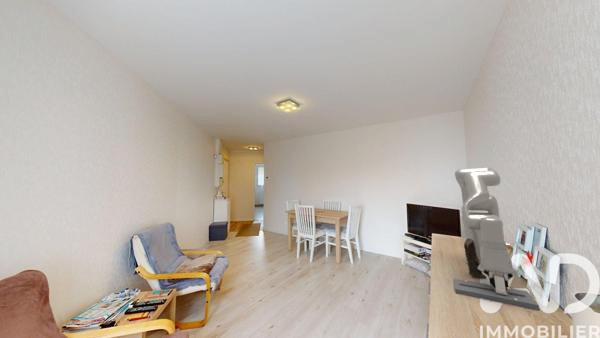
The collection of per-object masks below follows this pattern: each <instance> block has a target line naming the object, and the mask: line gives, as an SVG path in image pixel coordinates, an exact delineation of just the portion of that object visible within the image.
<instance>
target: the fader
mask: <svg viewBox="0 0 600 338" xmlns="http://www.w3.org/2000/svg"><path fill="white" fill-rule="evenodd" d="M493 278H494V280H495V288H494V290H495V292H496V293H498V294H503V295H508V294H507V292H506V289H505V282H504V277H503V274H502V273H501V272H493Z"/></svg>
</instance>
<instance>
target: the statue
mask: <svg viewBox="0 0 600 338" xmlns="http://www.w3.org/2000/svg"><path fill="white" fill-rule="evenodd" d="M463 248H464V253H465V258H466V260H467V262H468V264H467V267H468V272H469V275H471V277H472V278H474V279H485V280H486V279H487V278H488V277H487V275H486V274H485V273H484V272H482V271H480V270H479V269H478V266H479V264H480V262H479V259H478V258H477V255H476V251H475V250H476V248H475V245H474V241H473V240H472V239H469V238H468V239H467V240H465V241H464V243H463Z"/></svg>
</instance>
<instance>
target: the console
mask: <svg viewBox="0 0 600 338" xmlns="http://www.w3.org/2000/svg"><path fill="white" fill-rule="evenodd" d="M453 285H454V291H455V294H457V295H461V296H462V295H463V296H468V297H472V298H476V299H482V300H487V301H491V302H496V303H501V304H506V305H511V306H515V307H521V308H525V309H531V310H536V311H540V306H539V304H538V303H537V302H536V300H535V298H533V297H532V295H531V294H530V293H529V291H528V290H523V289H517V288H511V287H507V290H506V292H507V294H508V295H503V294H498V293H496V292H495V290H494V288H493V286H492V285H491V284H490V283H488V284H487V283H483V282H476V281H470V280H466V279H459V278H454V277H453Z"/></svg>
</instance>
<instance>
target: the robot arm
mask: <svg viewBox="0 0 600 338" xmlns="http://www.w3.org/2000/svg"><path fill="white" fill-rule="evenodd" d="M454 177H455V181H456V182H457V183H458V185H459V188H460V189H461V191H460V192H461V198H462V207H461V221H462V224H463V228H464V233H465V239H466V240H467V239H468V238H469V239H472V240H473V241H474V245H475V248H476V250H475V251H476V255H477V258H478V259H479V262H480V264H479V266H478V269H479V270H480V271H482V273H483V274H484V275H486V276H488V277H489V279H488V280H489V285H492V286H493V288H495V280H494V278H493V273H500V274H501V275H502V276H503V277H504V282H505V289H506V290H507V287H508V288H510V286H509V280H510V279H512V278H513V277H518V276H519V275H520V274H519V273H518V272H517V270H516V269H515V268H514V265H513V262H512V261H513V260H512V258H511V254H510V252H509V249H508V248H510V247H511V245H510V243H507V242H506V241H505V235H504V228H503V227H504V224H503V220H502V219H501V216H500V211H499V210H500V209H499V205H498V204H499V203H498V201H497V198H496V197H495V196H494V195H491V194H490V192H489V189H488V187H494V186H495V187H496V186H499V185H500V183H501V176H500V175H499V173H498V172H497V171H496V170H495V169H493V168H492V167H489V166H484V167H483V166H479V167H469V168H461V169H457V170H456V171H455V172H454ZM470 211H472V212H470ZM473 211H476V212H473ZM477 211H486V212H477ZM466 240H465V241H466ZM465 263H466V264H467V265H468V262H467V259H466V260H465Z"/></svg>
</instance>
